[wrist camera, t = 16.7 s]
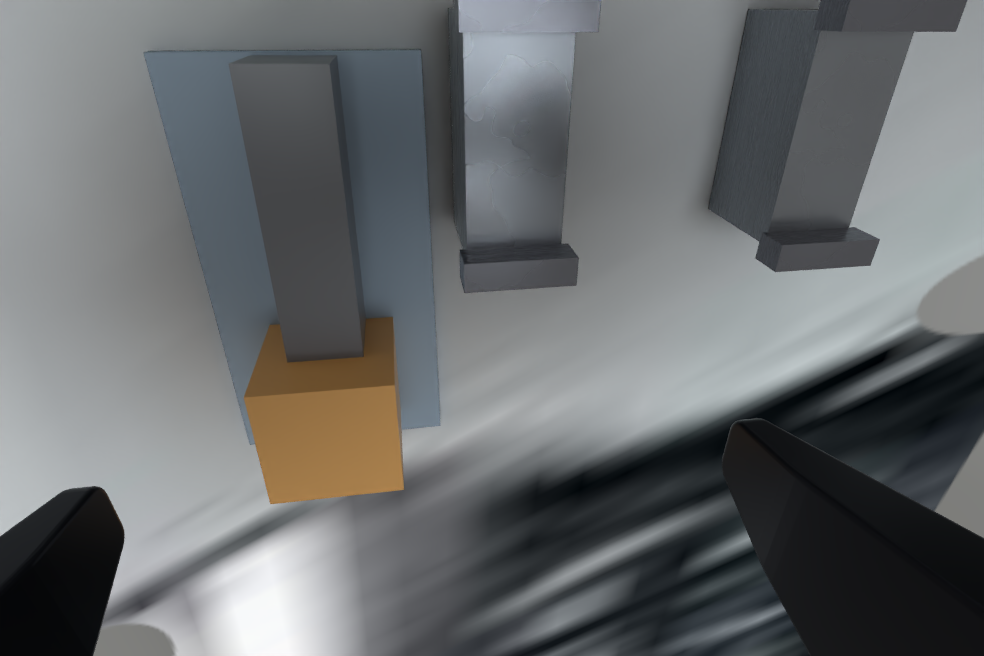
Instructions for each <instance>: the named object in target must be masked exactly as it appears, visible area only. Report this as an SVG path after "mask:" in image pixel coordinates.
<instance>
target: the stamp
mask: <svg viewBox="0 0 984 656" xmlns="http://www.w3.org/2000/svg"><path fill="white" fill-rule="evenodd" d="M228 65H229V70H230V75H231V80H232V85H233V90H234V95H235V100H236V105H237V110H238V115H239V120H240V125H241V130H242V136H243V141H244V146H245V151H246V156H247V161H248V166H249V171H250V176H251V181H252V186H253V191H254V196H255V201H256V206H257V211H258V217H259V222H260V227H261V232H262V237H263V242H264V247H265V252H266V257H267V262H268V267H269V272H270V277H271V282H272V287H273V292H274V298H275V303H276V308H277V313H278V318H279V323H280V324H276V325H269V328H268V331H267V334H266V336H265V339H264V342H263V345H262V348H261V350H260V353H259V356H258V359H257V362H256V364H255V367H254V370H253V373H252V376H251V378H250V381H249V384H248V387H247V390H246V392H245V395H244V401H245V405H246V409H247V413H248V417H249V421H250V425H251V429H252V433H253V437H254V441H255V445H256V449H257V453H258V457H259V461H260V465H261V468H262V472H263V476H264V480H265V484H266V488H267V492H268V496H269V500H270V504H277V503H286V502H295V501H305V500H314V499H323V498H332V497H341V496H350V495H360V494H369V493H378V492H387V491H396V490H404V481H403V455H402V429H401V407H400V395H399V383H398V371H397V359H396V347H395V335H394V323H393V317H384V318H369V319H366V315H365V306H364V297H363V288H362V279H361V270H360V261H359V252H358V242H357V233H356V224H355V215H354V206H353V197H352V188H351V179H350V170H349V161H348V152H347V143H346V134H345V125H344V116H343V107H342V97H341V88H340V79H339V70H338V61H337V55H249V56H247V57H244V58H242V59H239V60H237V61H234V62H232V63H229V64H228Z"/></svg>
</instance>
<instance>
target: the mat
mask: <svg viewBox="0 0 984 656" xmlns="http://www.w3.org/2000/svg"><path fill="white" fill-rule="evenodd" d="M249 55H337V61H338V70H339V79H340V88H341V97H342V107H343V116H344V125H345V134H346V143H347V152H348V161H349V170H350V179H351V188H352V197H353V206H354V215H355V224H356V233H357V242H358V252H359V261H360V270H361V279H362V288H363V297H364V306H365V315H366V319H369V318H384V317H393V323H394V335H395V347H396V359H397V371H398V383H399V395H400V407H401V429H412V428H422V427H432V426H440V407H439V388H438V369H437V349H436V330H435V310H434V291H433V271H432V252H431V233H430V213H429V194H428V174H427V155H426V136H425V116H424V97H423V77H422V58H421V50H260V51H148V52H144V56H145V60H146V63H147V67H148V71H149V74H150V78H151V82H152V85H153V89H154V93H155V96H156V100H157V104H158V107H159V111H160V115H161V119H162V122H163V126H164V130H165V133H166V137H167V141H168V144H169V148H170V152H171V155H172V159H173V163H174V166H175V170H176V174H177V178H178V181H179V185H180V189H181V192H182V196H183V200H184V203H185V207H186V211H187V214H188V218H189V222H190V225H191V229H192V233H193V237H194V240H195V244H196V248H197V251H198V255H199V259H200V262H201V266H202V270H203V273H204V277H205V281H206V284H207V288H208V292H209V296H210V299H211V303H212V307H213V310H214V314H215V318H216V321H217V325H218V329H219V332H220V336H221V340H222V343H223V347H224V351H225V355H226V358H227V362H228V366H229V369H230V373H231V377H232V380H233V384H234V388H235V391H236V395H237V399H238V402H239V406H240V410H241V413H242V417H243V421H244V425H245V428H246V432H247V436H248V439H249V443H250V445H252V444H255V441H254V437H253V433H252V429H251V425H250V421H249V417H248V413H247V409H246V405H245V401H244V395H245V392H246V390H247V387H248V384H249V381H250V378H251V376H252V373H253V370H254V367H255V364H256V362H257V359H258V356H259V353H260V350H261V348H262V345H263V342H264V339H265V336H266V334H267V331H268V328H269V325H276V324H280V323H279V318H278V313H277V308H276V303H275V298H274V292H273V287H272V282H271V277H270V272H269V267H268V262H267V257H266V252H265V247H264V242H263V237H262V232H261V227H260V222H259V217H258V211H257V206H256V201H255V196H254V191H253V186H252V181H251V176H250V171H249V166H248V161H247V156H246V151H245V146H244V141H243V136H242V130H241V125H240V120H239V115H238V110H237V105H236V100H235V95H234V90H233V85H232V80H231V75H230V70H229V65H228V64H229V63H232V62H234V61H237V60H239V59H242V58H244V57H247V56H249Z"/></svg>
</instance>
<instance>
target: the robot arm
mask: <svg viewBox="0 0 984 656" xmlns="http://www.w3.org/2000/svg"><path fill="white" fill-rule="evenodd" d="M722 471H723V475H724V477H725V480H726V482H727V485H728V487H729V489H730V492H731V494H732V497H733V499H734V501H735V504H736V506H737V509H738V511H739V513H740V516H741V518H742V520H743V523H744V525H745V528H746V530H747V532H748V535H749V537H750V540H751V542H752V544H753V547H754V549H755V551H756V554H757V556H758V558H759V560H760V563H761V565H762V567H763V569H764V571H765V573H766V575H767V577H768V579H769V581H770V582H771V584H772V586H773V588H774V590H775V592H776V593H777V595H778V597H779V599H780V601H781V603H782V605H783V606H784V608H785V610H786V612H787V614H788V616H789V617H790V619H791V621H792V623H793V625H794V627H795V628H796V630H797V632H798V634H799V636H800V638H801V639H802V641H803V643H804V645H805V647H806V649H807V650H808V652H809V654H810V656H984V538H983V537H981V536H979V535H977V534H975V533H973V532H971V531H970V530H968V529H966V528H964V527H962V526H960V525H958V524H957V523H955V522H953V521H951V520H949V519H947V518H946V517H944V516H942V515H940V514H938V513H936V512H934V511H933V510H931V509H929V508H927V507H925V506H923V505H921V504H920V503H918V502H916V501H914V500H912V499H910V498H908V497H907V496H905V495H903V494H901V493H899V492H897V491H895V490H894V489H892V488H890V487H888V486H886V485H884V484H883V483H881V482H879V481H877V480H875V479H873V478H871V477H870V476H868V475H866V474H864V473H862V472H860V471H858V470H857V469H855V468H853V467H851V466H849V465H847V464H845V463H844V462H842V461H840V460H838V459H836V458H834V457H832V456H831V455H829V454H827V453H825V452H823V451H821V450H820V449H818V448H816V447H814V446H812V445H810V444H808V443H807V442H805V441H803V440H801V439H799V438H797V437H795V436H794V435H792V434H790V433H788V432H786V431H784V430H782V429H781V428H779V427H777V426H775V425H773V424H771V423H769V422H768V421H766V420H763V419H747V420H738V421H736V422H734V423H733V425H732V426H731V429H730V432H729V436H728V440H727V443H726V447H725V451H724V454H723V458H722ZM123 545H124V529H123V526H122V523H121V521H120V519H119V517H118V515H117V513H116V511H115V509H114V507H113V505H112V503H111V501H110V499H109V497H108V495H107V493H106V492H105V490H103V489H102V488H101V487H96V486H92V487H82V488H72V489H68V490H65V491H63V492H61V493H59V494H58V495H57V496H55V497H54V498H52V499H51V500H50V501H48V502H47V503H46V504H44V505H43V506H41V507H40V508H39V509H37V510H36V511H35V512H33V513H32V514H30V515H29V516H28V517H26V518H25V519H23V520H22V521H21V522H19V523H18V524H17V525H15V526H14V527H12V528H11V529H10V530H8V531H7V532H6V533H4V534H3V535H1V536H0V656H93V654H94V650H95V647H96V644H97V641H98V637H99V634H100V630H101V626H102V623H103V619H104V615H105V611H106V608H107V604H108V600H109V597H110V593H111V589H112V586H113V582H114V578H115V575H116V571H117V567H118V564H119V560H120V556H121V552H122V549H123Z"/></svg>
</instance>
